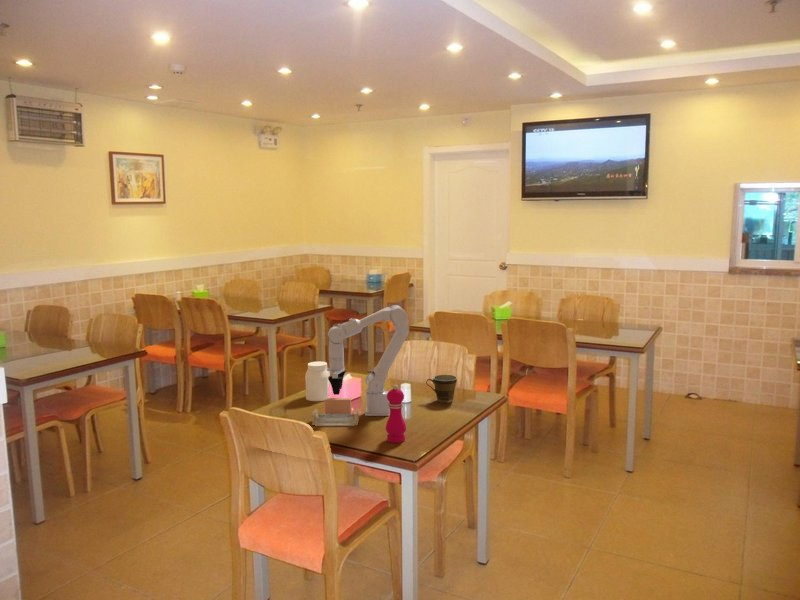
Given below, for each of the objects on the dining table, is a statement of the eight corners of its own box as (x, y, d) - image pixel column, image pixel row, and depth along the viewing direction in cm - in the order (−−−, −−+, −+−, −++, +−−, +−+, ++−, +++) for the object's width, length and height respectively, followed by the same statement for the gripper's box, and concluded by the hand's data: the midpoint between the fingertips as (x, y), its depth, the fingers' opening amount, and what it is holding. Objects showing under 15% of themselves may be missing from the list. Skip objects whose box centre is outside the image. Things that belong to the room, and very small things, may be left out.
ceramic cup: (457, 397, 279) (457, 374, 277) (456, 404, 269) (456, 381, 268) (427, 396, 280) (426, 374, 279) (425, 404, 270) (425, 380, 269)
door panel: (351, 415, 258) (350, 398, 257) (350, 416, 256) (350, 399, 255) (326, 415, 258) (325, 398, 257) (325, 417, 256) (324, 399, 255)
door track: (359, 418, 253) (358, 407, 252) (357, 425, 245) (357, 414, 244) (315, 419, 253) (315, 408, 252) (312, 426, 245) (311, 414, 244)
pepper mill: (406, 436, 233) (405, 382, 230) (406, 443, 226) (405, 387, 223) (386, 436, 233) (385, 382, 230) (385, 443, 226) (384, 387, 223)
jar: (327, 401, 276) (326, 367, 274) (304, 401, 276) (303, 367, 274) (331, 393, 287) (330, 360, 285) (310, 393, 288) (309, 360, 286)
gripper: (328, 353, 261) (329, 386, 263) (323, 362, 246) (324, 397, 248) (346, 353, 260) (347, 386, 262) (342, 362, 246) (343, 396, 248)
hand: (337, 391), depth 255 cm, fingers open, 7 cm apart
